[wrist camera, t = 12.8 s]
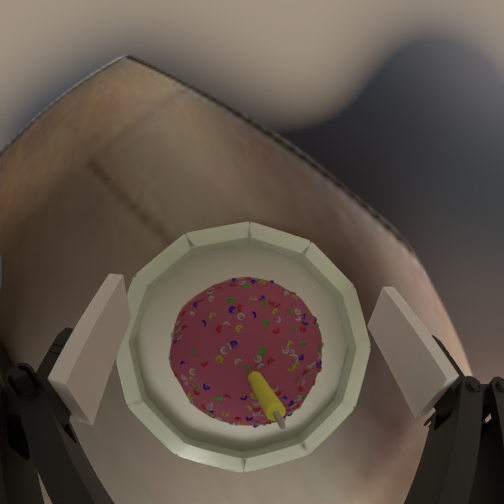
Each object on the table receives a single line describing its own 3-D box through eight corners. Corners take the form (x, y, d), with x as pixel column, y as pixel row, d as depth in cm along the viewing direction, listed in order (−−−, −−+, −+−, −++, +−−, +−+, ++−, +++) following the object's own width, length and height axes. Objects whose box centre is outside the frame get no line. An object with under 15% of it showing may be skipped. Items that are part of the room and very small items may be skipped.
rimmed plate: (102, 412, 16) (89, 419, 14) (172, 209, 23) (167, 195, 20) (317, 471, 17) (328, 482, 14) (370, 273, 23) (385, 265, 20)
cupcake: (306, 396, 18) (405, 441, 7) (189, 413, 17) (156, 496, 5) (288, 285, 21) (367, 213, 9) (174, 297, 19) (119, 233, 8)
